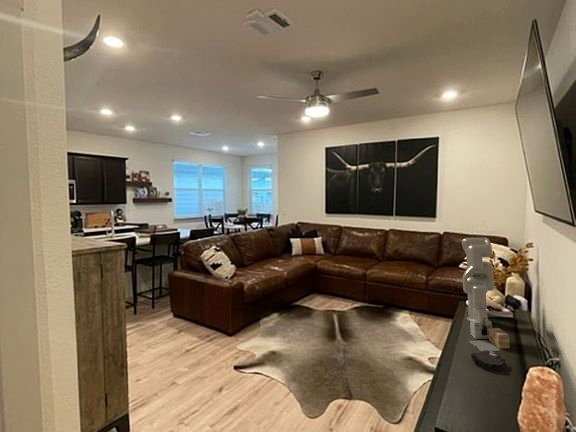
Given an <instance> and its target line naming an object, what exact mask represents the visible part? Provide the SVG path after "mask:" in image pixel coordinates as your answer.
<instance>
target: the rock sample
mask: <svg viewBox="0 0 576 432" xmlns="http://www.w3.org/2000/svg"><path fill="white" fill-rule="evenodd" d="M470 356H471V359H472V361H473V363H474V366H476V367H478V368H480V369H483V370H486V371H489V372H493V373H496V372H502V371H505V370H506V366H507V365H506V364H507V362H506V359H505V358H504V357H501V355H500V353H498V352H497V351H488V350H484V351H482V352H481V351H479V352H472V353H471V354H470Z"/></svg>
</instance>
